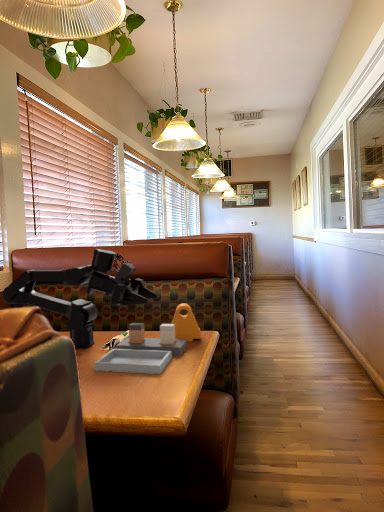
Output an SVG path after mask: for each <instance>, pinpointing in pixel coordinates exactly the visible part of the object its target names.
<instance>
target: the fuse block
mask: <svg viewBox="0 0 384 512" xmlns="http://www.w3.org/2000/svg"><path fill="white" fill-rule="evenodd" d="M144 338H145V342H144V343H129V336H126V338H124V339H123V340H121V341H120V342H119V343H117V344H116V345H115V349H132V350H159V351H172V357H174V356H175V357H177V356H178V357H181V356H182V355H183V354H184V353H185V351H186V350H187V348H188V341H187V339H175V344H174V345H172V344H160V337H144Z"/></svg>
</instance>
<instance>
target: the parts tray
mask: <svg viewBox="0 0 384 512" xmlns="http://www.w3.org/2000/svg"><path fill="white" fill-rule="evenodd" d="M172 359H173V356H172V351H159V350H132V349H116V348H112V349H110V350H109V351H108V352H107V353H105V354H104V355H103V356H101V357H100V358H99V359H97V360H96V361H95V362H94V371H95V372H109V371H112V373H113V372H114V373H117V372H118V373H129V374H130V373H131V374H151V375H160V374H161V373H162V372H163V371H164V370H165V368H166V367H167V366H168V365H169V363H170V362H171V360H172Z"/></svg>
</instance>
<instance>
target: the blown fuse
mask: <svg viewBox="0 0 384 512" xmlns="http://www.w3.org/2000/svg"><path fill="white" fill-rule="evenodd" d="M128 337H129V343H144V342H145V338H146V337H145V323H144V322H143V323H142V322H141V323H140V322H131V323H130V324H128Z"/></svg>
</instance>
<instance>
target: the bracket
mask: <svg viewBox="0 0 384 512" xmlns="http://www.w3.org/2000/svg"><path fill="white" fill-rule="evenodd" d="M182 310H186V311H187V314H185V315H183V314H181V313H180V312H181V311H182ZM171 324H175V339H187V342H193V341H194V339H196V340H197V339H201V338H202V336H201V328H200V327H199V325H198V321H197V320H196V318H195V315H194V313H193V311H192V307H191V306H190V305H189V304H188V303H184V302H183V303H179V304H178V305H177V307H176V309H175V312H174V315H173V318H172V320H171Z"/></svg>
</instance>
